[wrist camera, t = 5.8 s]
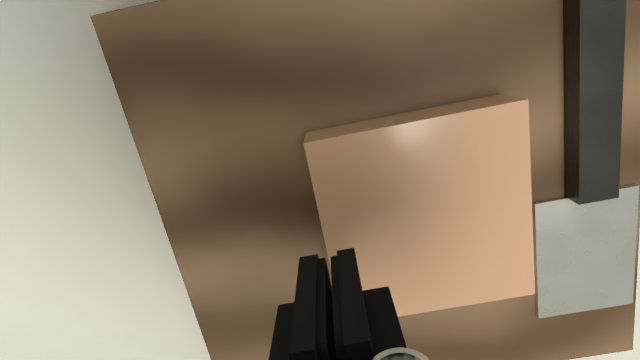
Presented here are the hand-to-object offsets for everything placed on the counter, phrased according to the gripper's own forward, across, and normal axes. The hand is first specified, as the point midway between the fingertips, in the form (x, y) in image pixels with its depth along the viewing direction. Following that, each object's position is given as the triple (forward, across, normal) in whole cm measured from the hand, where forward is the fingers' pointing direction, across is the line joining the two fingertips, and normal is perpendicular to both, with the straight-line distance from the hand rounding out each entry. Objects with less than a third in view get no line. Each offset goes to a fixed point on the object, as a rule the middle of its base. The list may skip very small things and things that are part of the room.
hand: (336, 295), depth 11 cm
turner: (+6, -11, -1) cm, 13 cm away
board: (+7, -3, 0) cm, 8 cm away
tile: (+5, 0, 0) cm, 5 cm away
